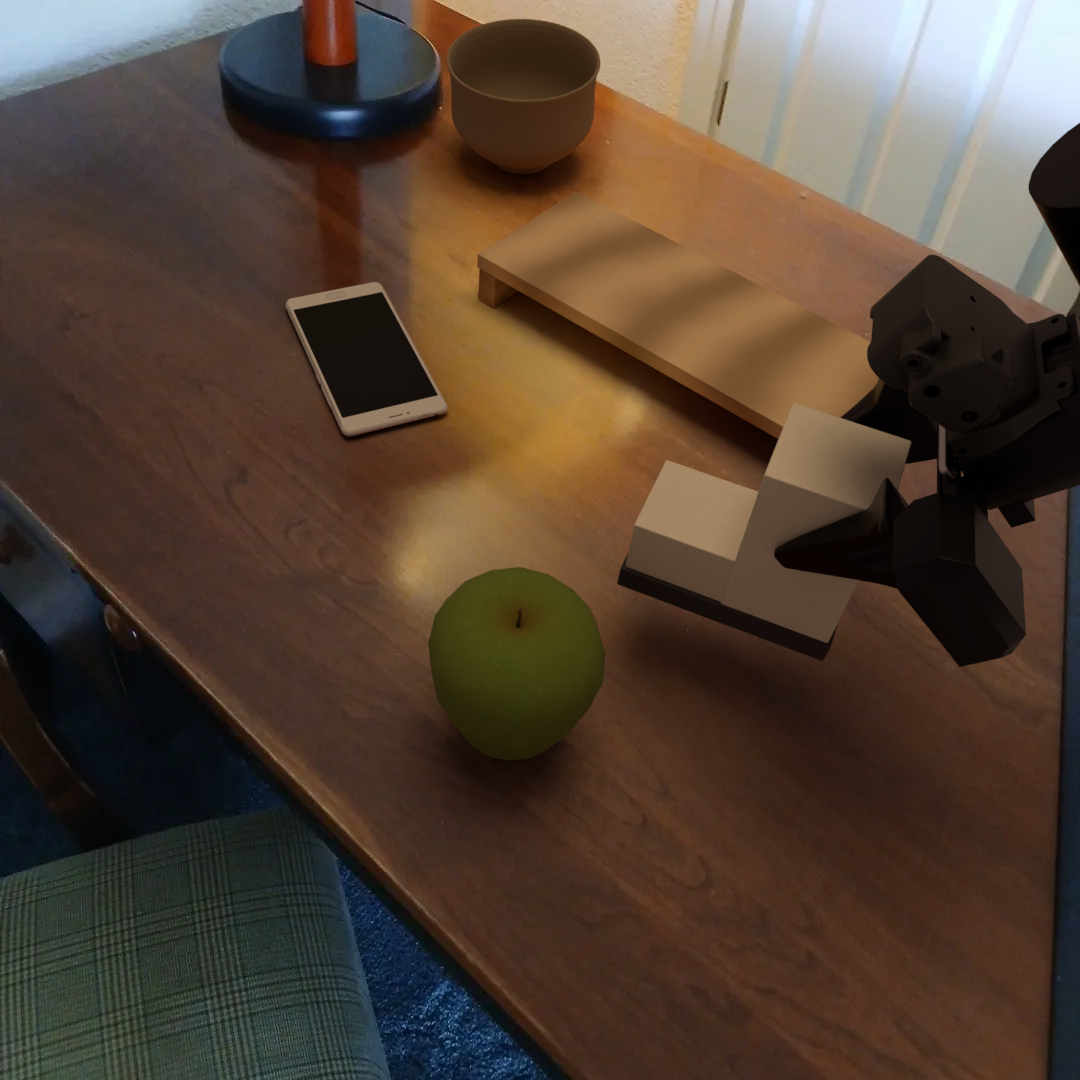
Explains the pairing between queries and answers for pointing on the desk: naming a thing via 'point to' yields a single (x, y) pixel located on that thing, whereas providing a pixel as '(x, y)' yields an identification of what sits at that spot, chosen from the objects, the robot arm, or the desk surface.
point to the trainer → (762, 531)
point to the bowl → (523, 91)
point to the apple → (515, 661)
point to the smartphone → (364, 359)
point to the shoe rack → (679, 313)
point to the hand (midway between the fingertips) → (784, 513)
